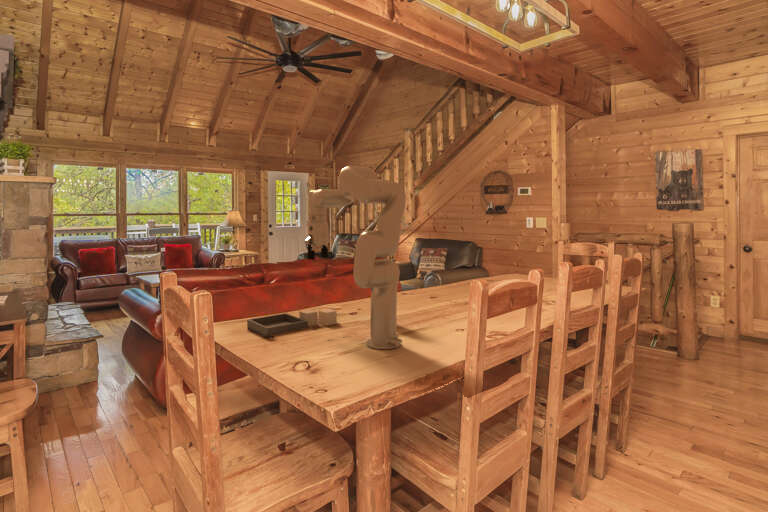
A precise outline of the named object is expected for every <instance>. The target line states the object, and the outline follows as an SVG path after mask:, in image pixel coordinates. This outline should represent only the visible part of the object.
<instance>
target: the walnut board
mask: <svg viewBox="0 0 768 512" xmlns="http://www.w3.org/2000/svg"><path fill="white" fill-rule="evenodd" d="M339 325H342V323H341V322H337V324H332V325H327V326H325V325H323V324H320V323H319V318H318V324H317V325H312V326H308V328H307V329H311V330H312V331H313V330H314V331H316V330H319V329H325V328H330V327H335V326H339Z"/></svg>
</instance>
